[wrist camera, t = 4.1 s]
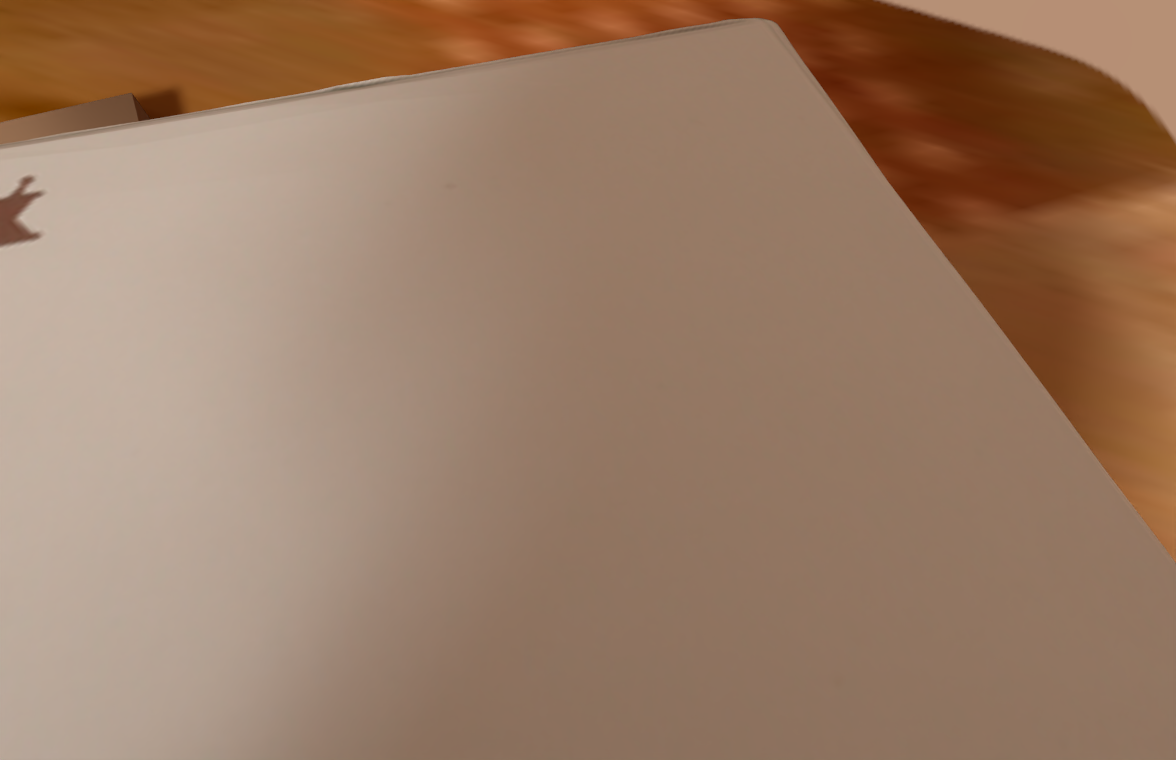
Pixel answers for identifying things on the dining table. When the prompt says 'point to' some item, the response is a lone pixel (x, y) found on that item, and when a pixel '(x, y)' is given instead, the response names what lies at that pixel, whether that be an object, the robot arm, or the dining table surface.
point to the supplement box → (539, 440)
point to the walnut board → (74, 119)
